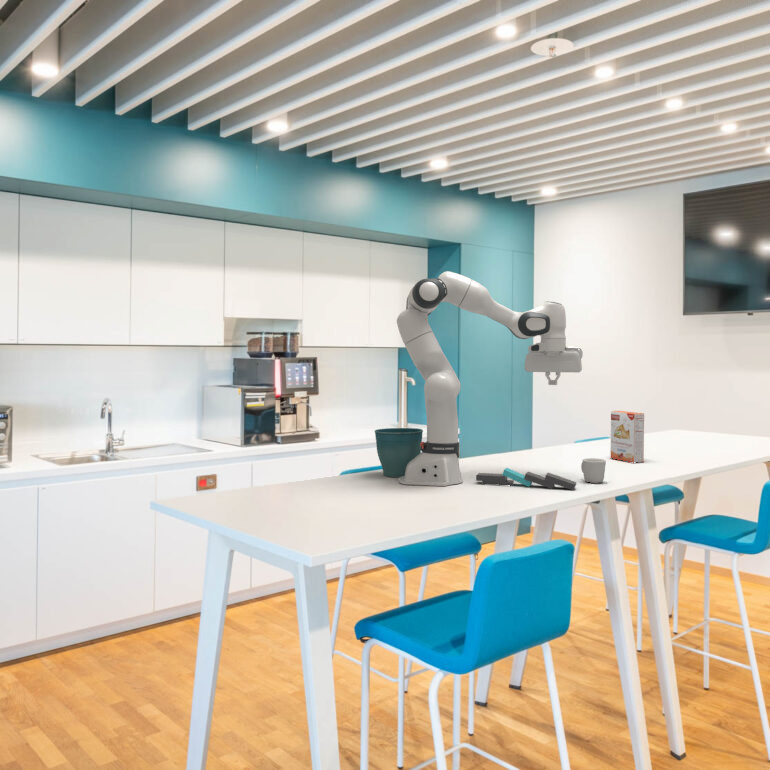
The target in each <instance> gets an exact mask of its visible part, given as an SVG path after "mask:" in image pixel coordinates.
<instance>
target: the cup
mask: <svg viewBox="0 0 770 770" xmlns="http://www.w3.org/2000/svg"><path fill="white" fill-rule="evenodd" d="M606 463H607V461H606V459H603V458H594V457H593V458H592V457H591V458H590V457H589V458H583V459H582V462H581V464H580V468H581V473H582V474H583V479H584V481H585V482H586V483H588V482H590V483H589V484H600V483H603V482H604V480H605V471H606Z"/></svg>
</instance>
